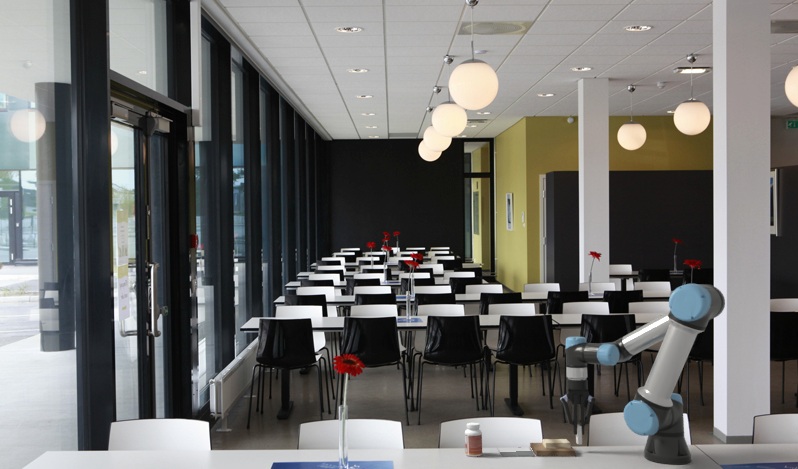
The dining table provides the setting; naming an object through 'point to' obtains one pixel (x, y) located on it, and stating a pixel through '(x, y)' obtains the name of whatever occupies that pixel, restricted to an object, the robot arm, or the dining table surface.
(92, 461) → the dining table surface
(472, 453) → the pill bottle
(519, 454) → the grey square plate
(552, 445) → the birch tile
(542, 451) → the board
